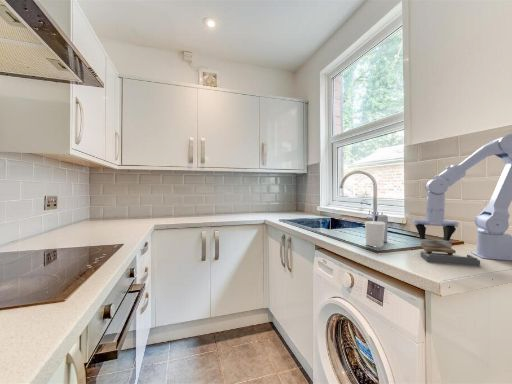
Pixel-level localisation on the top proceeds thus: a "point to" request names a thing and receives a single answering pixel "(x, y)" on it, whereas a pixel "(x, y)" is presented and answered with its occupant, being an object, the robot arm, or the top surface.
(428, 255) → the dock
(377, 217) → the energy drink
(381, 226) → the white cup
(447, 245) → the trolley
